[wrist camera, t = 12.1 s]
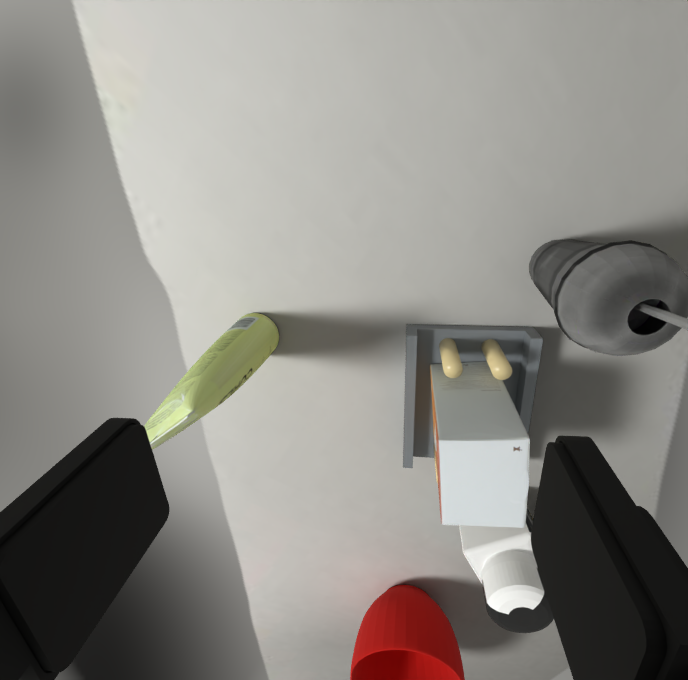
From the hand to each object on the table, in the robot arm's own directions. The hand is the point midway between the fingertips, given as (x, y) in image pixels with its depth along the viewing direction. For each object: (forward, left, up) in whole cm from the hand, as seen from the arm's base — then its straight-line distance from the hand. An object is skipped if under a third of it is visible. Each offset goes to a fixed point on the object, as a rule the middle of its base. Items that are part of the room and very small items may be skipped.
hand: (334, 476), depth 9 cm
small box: (+14, +7, -30) cm, 34 cm away
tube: (+8, -14, -32) cm, 36 cm away
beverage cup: (+1, +15, -32) cm, 35 cm away
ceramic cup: (+48, +2, -32) cm, 58 cm away
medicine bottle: (+30, +13, -32) cm, 46 cm away
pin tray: (+14, +8, -31) cm, 35 cm away
